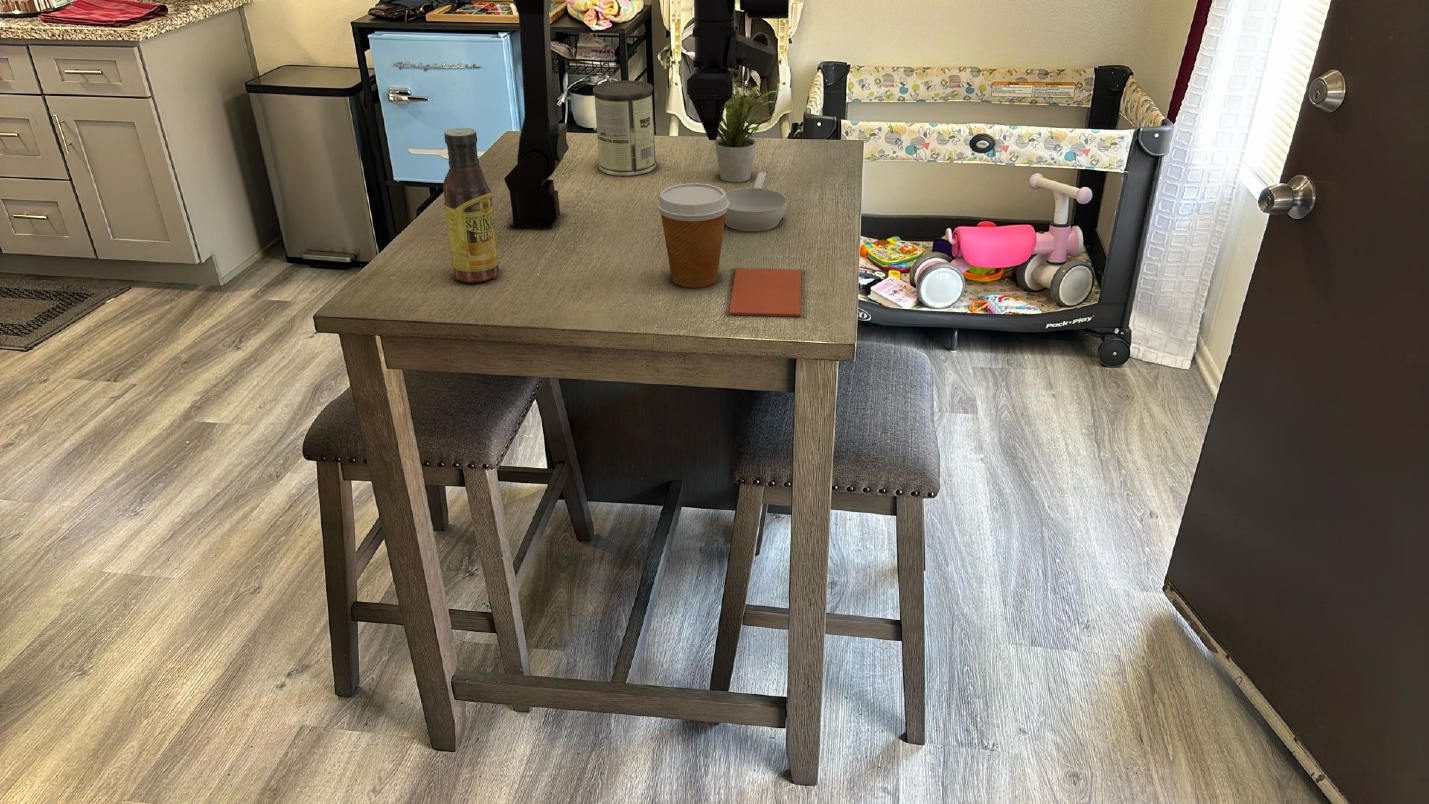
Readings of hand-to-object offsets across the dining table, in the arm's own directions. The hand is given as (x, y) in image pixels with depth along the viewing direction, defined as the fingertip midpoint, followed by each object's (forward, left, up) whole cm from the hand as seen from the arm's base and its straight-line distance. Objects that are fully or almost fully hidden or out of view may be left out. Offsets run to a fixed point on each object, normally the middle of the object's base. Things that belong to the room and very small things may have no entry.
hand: (715, 130), depth 144 cm
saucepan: (+6, +6, -15) cm, 17 cm away
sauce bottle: (-31, -21, -15) cm, 40 cm away
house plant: (+3, +23, -15) cm, 27 cm away
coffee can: (-18, +28, -15) cm, 37 cm away
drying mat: (+9, -24, -15) cm, 29 cm away
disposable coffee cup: (-1, -20, -15) cm, 25 cm away
